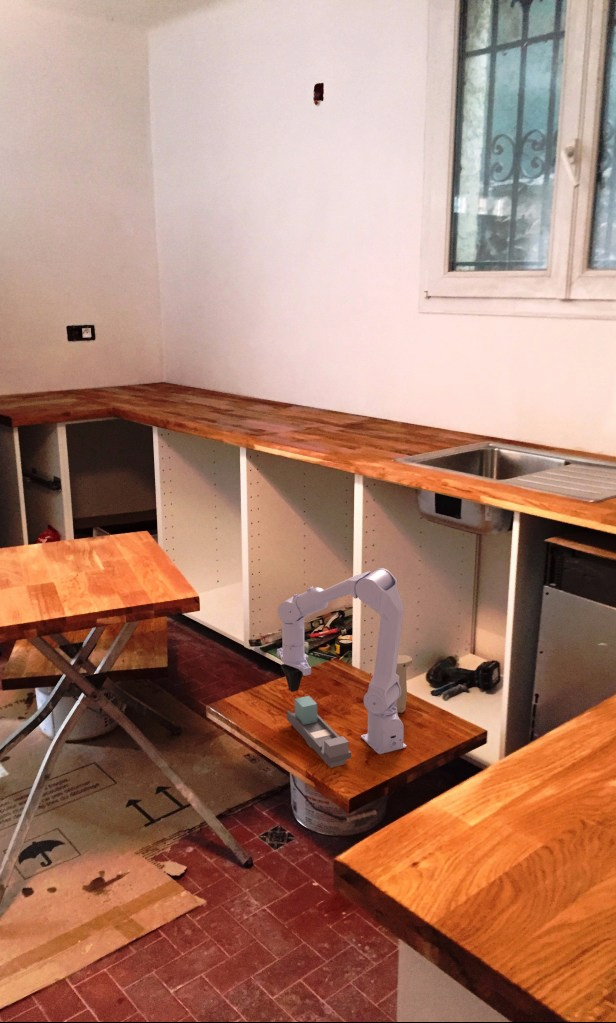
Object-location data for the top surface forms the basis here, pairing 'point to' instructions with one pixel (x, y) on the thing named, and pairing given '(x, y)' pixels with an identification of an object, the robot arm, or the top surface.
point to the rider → (306, 710)
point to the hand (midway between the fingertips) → (293, 690)
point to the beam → (323, 740)
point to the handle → (402, 680)
